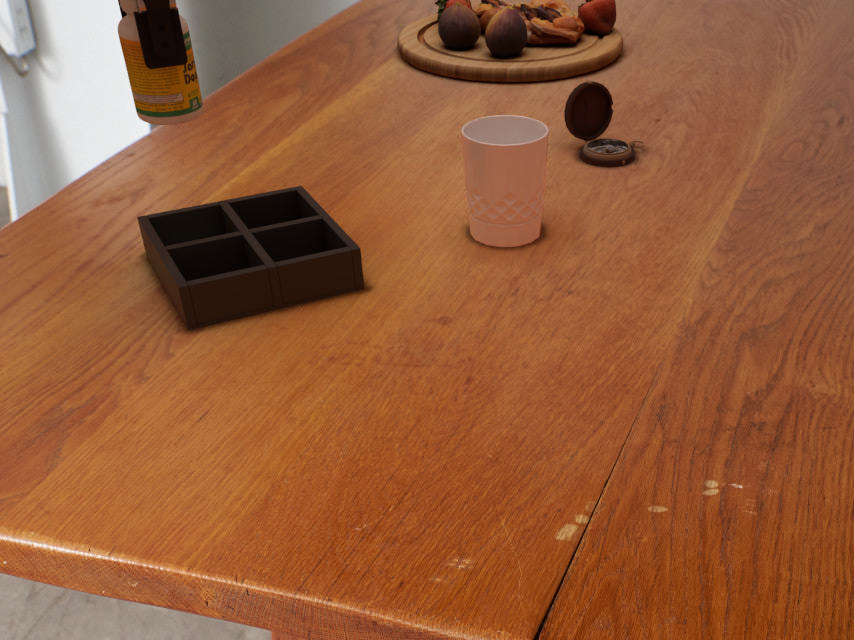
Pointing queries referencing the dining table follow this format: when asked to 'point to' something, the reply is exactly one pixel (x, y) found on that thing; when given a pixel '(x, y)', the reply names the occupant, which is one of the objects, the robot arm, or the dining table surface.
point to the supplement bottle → (159, 78)
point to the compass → (596, 126)
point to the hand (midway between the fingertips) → (157, 53)
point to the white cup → (505, 178)
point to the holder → (250, 256)
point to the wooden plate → (513, 40)
